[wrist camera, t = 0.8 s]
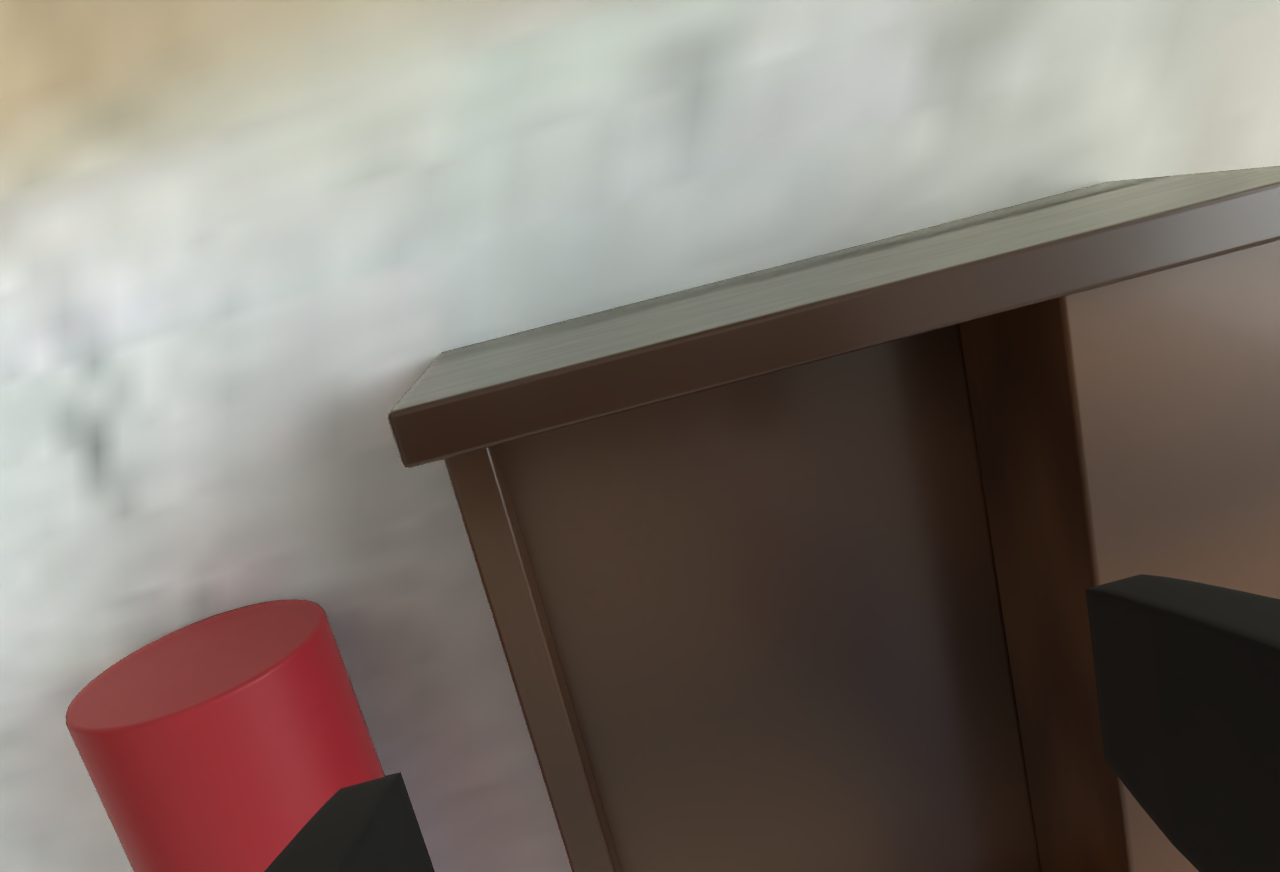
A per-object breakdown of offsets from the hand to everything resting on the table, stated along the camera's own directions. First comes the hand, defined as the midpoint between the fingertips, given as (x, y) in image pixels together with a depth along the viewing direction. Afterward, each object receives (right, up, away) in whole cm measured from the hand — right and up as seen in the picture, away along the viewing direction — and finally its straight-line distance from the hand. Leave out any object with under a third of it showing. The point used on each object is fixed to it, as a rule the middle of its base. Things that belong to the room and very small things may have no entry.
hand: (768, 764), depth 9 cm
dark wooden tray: (+4, -2, +11) cm, 12 cm away
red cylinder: (-8, -6, +8) cm, 13 cm away
